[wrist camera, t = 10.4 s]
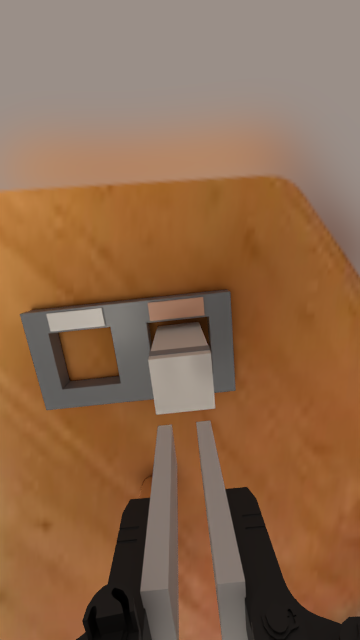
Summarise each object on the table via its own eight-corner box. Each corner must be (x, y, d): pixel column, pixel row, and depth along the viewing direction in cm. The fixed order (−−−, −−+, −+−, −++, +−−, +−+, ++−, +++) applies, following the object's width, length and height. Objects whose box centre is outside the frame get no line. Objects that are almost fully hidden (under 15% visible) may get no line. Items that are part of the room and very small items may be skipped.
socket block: (54, 400, 30) (45, 411, 28) (30, 310, 27) (18, 314, 25) (231, 382, 30) (236, 392, 28) (226, 289, 27) (230, 292, 25)
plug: (162, 364, 29) (155, 415, 20) (157, 325, 28) (147, 359, 19) (202, 360, 29) (215, 409, 20) (199, 321, 28) (211, 352, 19)
